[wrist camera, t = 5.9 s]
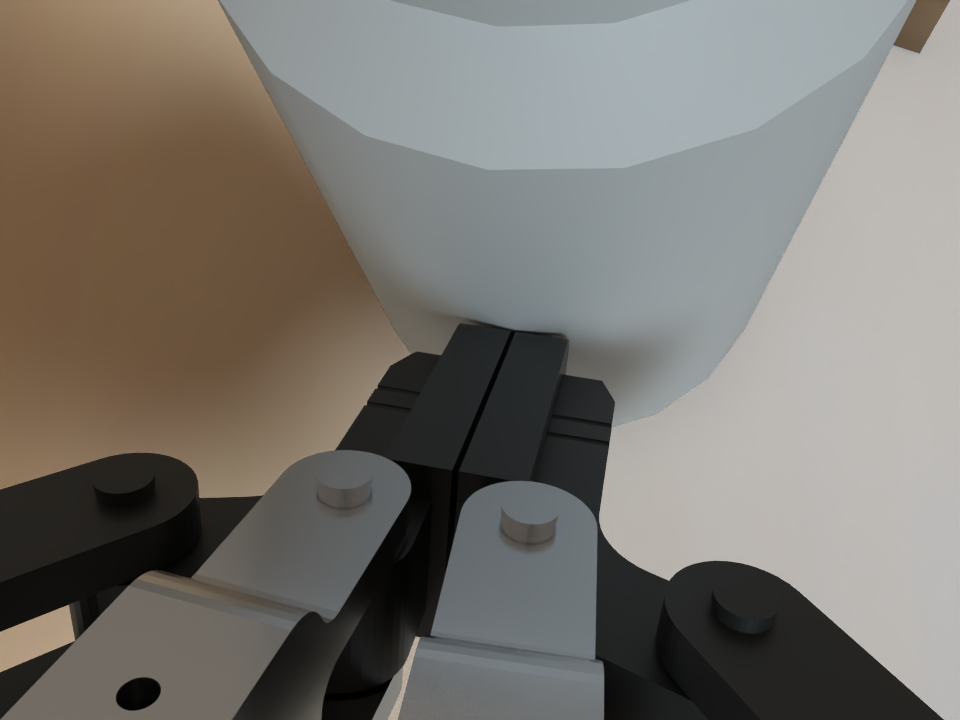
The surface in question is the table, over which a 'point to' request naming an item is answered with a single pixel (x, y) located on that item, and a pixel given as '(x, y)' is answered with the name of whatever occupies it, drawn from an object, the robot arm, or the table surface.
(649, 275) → the can
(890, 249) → the table surface
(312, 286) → the table surface
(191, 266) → the table surface
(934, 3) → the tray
